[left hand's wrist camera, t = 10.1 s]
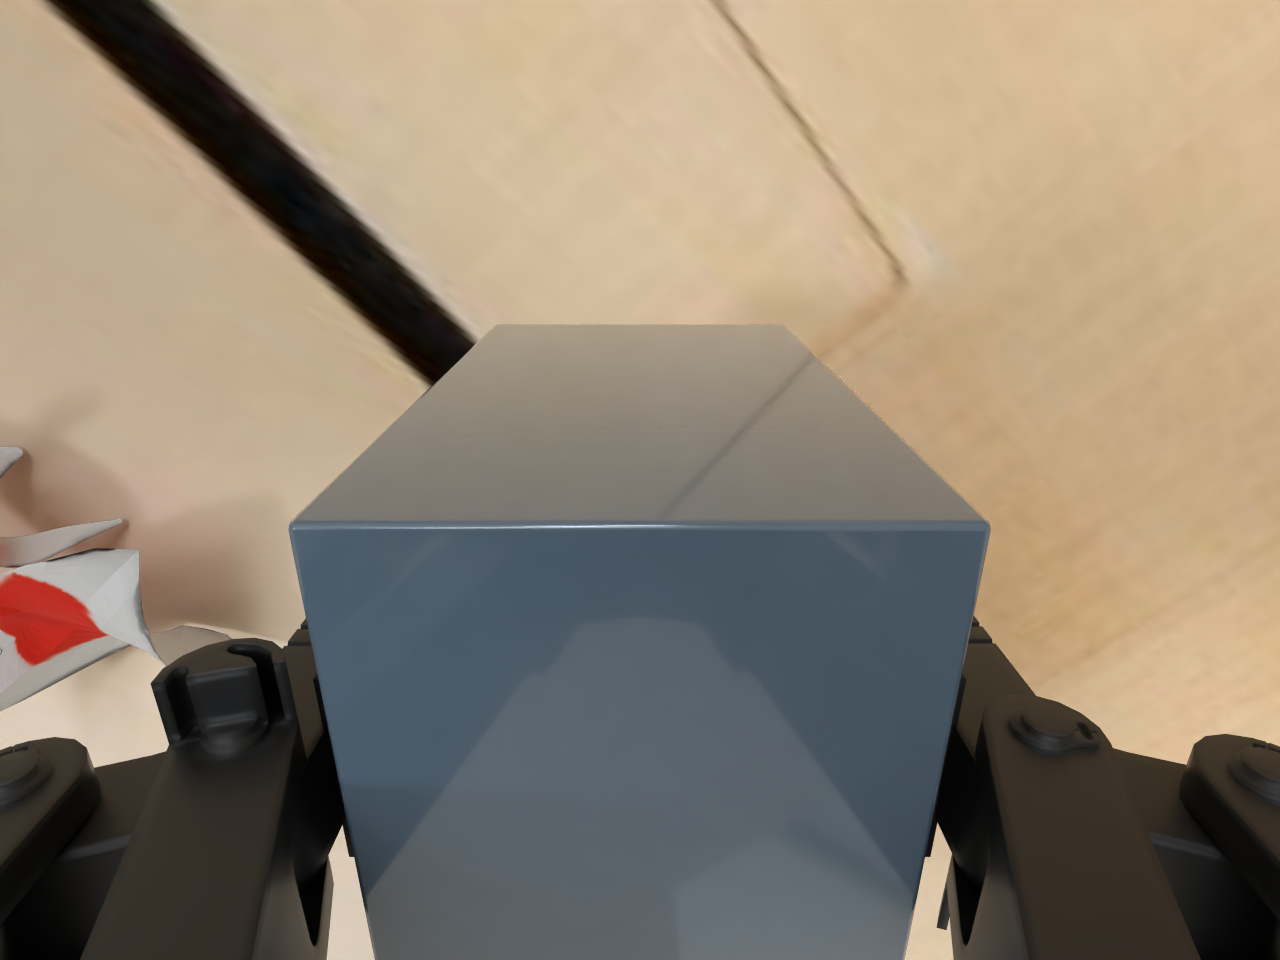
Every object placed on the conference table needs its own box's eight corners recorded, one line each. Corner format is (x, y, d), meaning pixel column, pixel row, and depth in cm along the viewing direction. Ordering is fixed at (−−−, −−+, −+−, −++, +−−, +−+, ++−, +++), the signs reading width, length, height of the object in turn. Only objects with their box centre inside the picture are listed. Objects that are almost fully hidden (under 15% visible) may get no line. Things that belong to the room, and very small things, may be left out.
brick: (760, 652, 17) (878, 1105, 9) (518, 652, 17) (401, 1104, 9) (785, 324, 14) (995, 523, 6) (494, 324, 14) (283, 523, 6)
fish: (-106, 263, 20) (-428, 577, 15) (344, 525, 31) (262, 770, 25) (-220, 393, 25) (-495, 667, 20) (201, 581, 36) (105, 797, 30)
